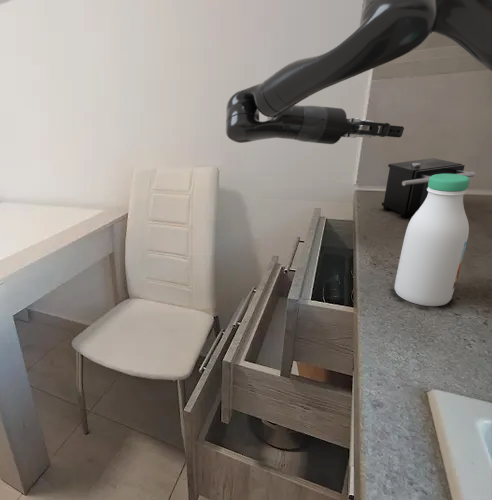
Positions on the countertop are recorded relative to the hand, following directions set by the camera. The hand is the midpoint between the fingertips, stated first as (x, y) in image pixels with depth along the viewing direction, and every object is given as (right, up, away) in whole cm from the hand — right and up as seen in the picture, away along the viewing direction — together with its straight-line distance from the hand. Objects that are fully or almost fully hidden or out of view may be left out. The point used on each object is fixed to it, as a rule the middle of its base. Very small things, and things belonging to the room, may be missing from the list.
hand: (388, 131), depth 81 cm
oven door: (+14, -17, +7) cm, 23 cm away
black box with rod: (+16, -16, +14) cm, 26 cm away
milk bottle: (-8, -34, -19) cm, 40 cm away
